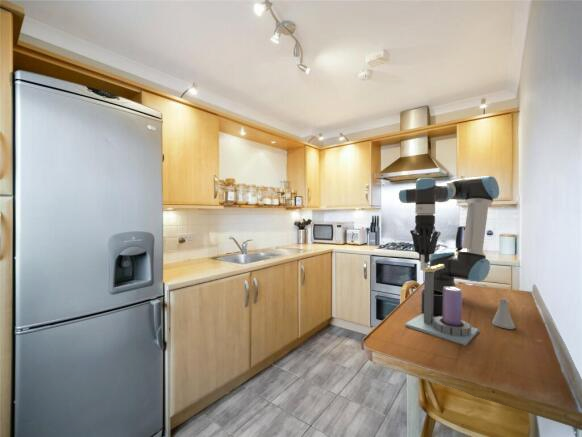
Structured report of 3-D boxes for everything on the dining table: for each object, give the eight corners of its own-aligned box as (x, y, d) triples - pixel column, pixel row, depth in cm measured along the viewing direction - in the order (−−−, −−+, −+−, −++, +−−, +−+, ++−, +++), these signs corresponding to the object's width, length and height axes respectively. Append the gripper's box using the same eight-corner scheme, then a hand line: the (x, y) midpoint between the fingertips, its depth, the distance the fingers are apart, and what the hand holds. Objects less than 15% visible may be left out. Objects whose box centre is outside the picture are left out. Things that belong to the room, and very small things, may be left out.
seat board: (421, 315, 112) (422, 267, 112) (478, 331, 97) (479, 276, 97) (405, 326, 101) (405, 272, 101) (465, 345, 86) (466, 283, 86)
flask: (493, 320, 108) (493, 296, 108) (516, 326, 103) (516, 300, 102) (489, 325, 103) (490, 300, 103) (514, 331, 98) (514, 304, 97)
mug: (448, 320, 107) (449, 298, 107) (418, 312, 116) (418, 291, 116) (455, 314, 114) (455, 293, 114) (425, 307, 122) (426, 288, 122)
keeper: (422, 271, 102) (422, 268, 102) (437, 266, 113) (437, 263, 113) (432, 273, 100) (432, 269, 100) (446, 267, 110) (446, 265, 110)
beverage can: (458, 334, 92) (459, 291, 92) (439, 328, 97) (440, 288, 96) (463, 329, 96) (464, 288, 96) (445, 324, 101) (446, 285, 100)
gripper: (406, 214, 116) (405, 267, 117) (433, 214, 105) (432, 273, 105) (417, 214, 120) (416, 266, 120) (445, 214, 108) (444, 272, 108)
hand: (424, 269), depth 112 cm, fingers closed
